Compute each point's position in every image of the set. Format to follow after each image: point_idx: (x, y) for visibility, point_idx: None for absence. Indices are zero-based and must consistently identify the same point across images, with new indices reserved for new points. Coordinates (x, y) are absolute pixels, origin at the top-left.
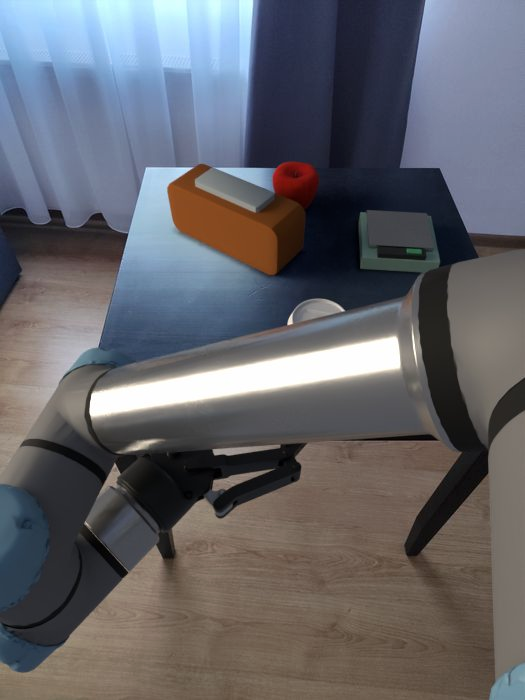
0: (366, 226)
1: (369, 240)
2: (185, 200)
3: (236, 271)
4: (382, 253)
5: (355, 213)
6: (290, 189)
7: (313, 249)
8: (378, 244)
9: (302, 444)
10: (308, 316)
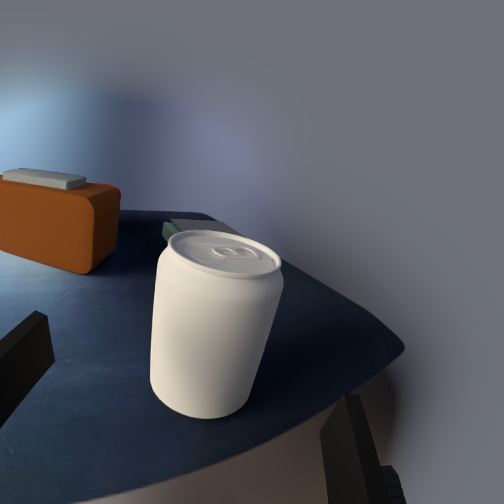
0: (175, 229)
1: None
2: None
3: (40, 273)
4: None
5: (155, 229)
6: None
7: (126, 252)
8: None
9: (403, 501)
10: (199, 250)
